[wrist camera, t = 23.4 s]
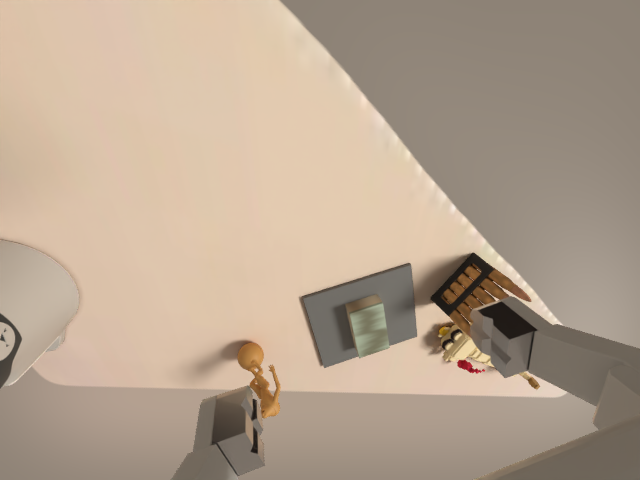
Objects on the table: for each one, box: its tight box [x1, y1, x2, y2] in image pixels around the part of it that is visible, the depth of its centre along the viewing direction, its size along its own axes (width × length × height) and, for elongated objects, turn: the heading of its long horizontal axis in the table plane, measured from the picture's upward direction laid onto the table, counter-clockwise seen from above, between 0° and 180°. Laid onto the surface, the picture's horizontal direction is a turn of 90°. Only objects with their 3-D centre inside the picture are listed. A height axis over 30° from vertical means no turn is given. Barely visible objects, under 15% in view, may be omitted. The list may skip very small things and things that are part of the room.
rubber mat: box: [303, 263, 417, 368], centre depth 51 cm, size 18×16×1 cm
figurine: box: [238, 343, 280, 418], centre depth 44 cm, size 8×6×12 cm
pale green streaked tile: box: [345, 294, 390, 358], centre depth 50 cm, size 6×2×10 cm
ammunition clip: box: [431, 253, 531, 339], centre depth 47 cm, size 11×2×12 cm, turn 142°
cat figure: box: [438, 323, 540, 389], centre depth 58 cm, size 10×9×25 cm
